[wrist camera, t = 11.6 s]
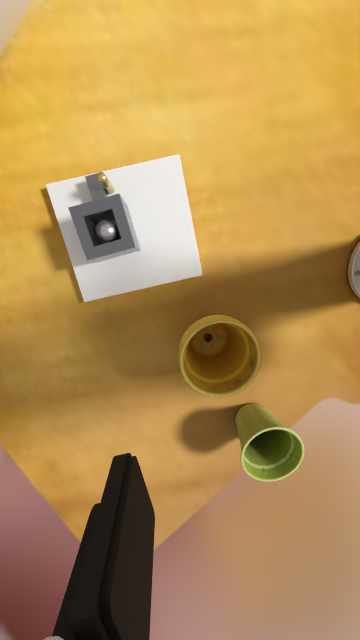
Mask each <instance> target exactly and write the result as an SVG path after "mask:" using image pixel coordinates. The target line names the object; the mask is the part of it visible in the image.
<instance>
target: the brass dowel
mask: <svg viewBox="0 0 360 640" xmlns="http://www.w3.org/2000/svg"><path fill="white" fill-rule="evenodd" d="M97 179H98V180H99V182H100V183H101V184H102V185H103V187H104V188H105V189H106V190H107V192H108V193H109V194H113V193H114V191H115V189H114V187H113V186H112V184H111V183H110V181H109V180H108V178H107V177H106V175H105V174H104V173H103V172H99V173H98V174H97Z"/></svg>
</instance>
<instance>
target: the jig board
mask: <svg viewBox="0 0 360 640" xmlns="http://www.w3.org/2000/svg"><path fill="white" fill-rule="evenodd" d="M98 173H99V172H98ZM103 173H104V174H105V175H106V177H107V178H108V180H109V181H110V183H111V184H112V186H113V187H114V189H115V191H114V193H113V194H109V193H108V192H107V193H108V196H112V195H115V194H120V195H121V197H122V198H123V200H124V201H125V203H126V204H127V206H128V209H129V213H130V216H131V219H132V223H133V226H134V230H135V233H136V236H137V240H138V243H139V246H140V251H137V252H133V253H129V254H126V255H122V256H119V257H115V258H111V259H108V260H104V261H87V259H86V256H85V254H84V251H83V248H82V245H81V242H80V240H79V237H78V234H77V231H76V228H75V225H74V223H73V220H72V217H71V214H70V211H69V209H68V207H72V206H76V205H79V204H83V203H86V202H90V201H93V200H92V197H91V194H90V191H89V188H88V185H87V182H86V179H85V176H89V175H85V176H81V177H76V178H72V179H68V180H63V181H59V182H54V183H50V184H46V187H47V190H48V193H49V196H50V200H51V203H52V206H53V209H54V212H55V215H56V218H57V221H58V224H59V227H60V230H61V233H62V236H63V239H64V242H65V245H66V248H67V251H68V254H69V257H70V260H71V263H72V266H73V269H74V272H75V275H76V278H77V281H78V285H79V288H80V291H81V294H82V297H83V300H84V302H87V301H92V300H96V299H100V298H105V297H109V296H113V295H118V294H122V293H126V292H131V291H135V290H140V289H144V288H148V287H153V286H157V285H161V284H166V283H170V282H174V281H179V280H183V279H188V278H192V277H196V276H201V275H203V274H202V269H201V264H200V259H199V254H198V249H197V243H196V238H195V233H194V228H193V223H192V218H191V213H190V207H189V202H188V197H187V192H186V187H185V182H184V176H183V171H182V166H181V161H180V156H179V154H178V155H173V156H169V157H164V158H160V159H156V160H151V161H147V162H142V163H138V164H134V165H129V166H125V167H120V168H116V169H112V170H107V171H103ZM94 174H96V173H94ZM90 175H93V174H90ZM110 222H111V223H112V224H113V225H115V226H116V227H117V228H118V226H117V223H116V220H114V221H110ZM102 240H103V239H102ZM103 243H104V244H105V243H109V242H108V241H106V240H103Z"/></svg>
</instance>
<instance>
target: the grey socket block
mask: <svg viewBox="0 0 360 640" xmlns="http://www.w3.org/2000/svg"><path fill="white" fill-rule="evenodd" d="M97 174H98V173H96V174H93V175H89V176H85V179H86V182H87V185H88V188H89V191H90V194H91V197H92V200H93V201H90V202H86V203H83V204H79V205H76V206H72V207H68V209H69V211H70V214H71V217H72V220H73V223H74V225H75V228H76V231H77V234H78V237H79V240H80V242H81V245H82V248H83V251H84V254H85V256H86V259H87V261H104V260H108V259H111V258H115V257H119V256H122V255H126V254H129V253H133V252H137V251H140V246H139V243H138V240H137V236H136V233H135V230H134V226H133V223H132V219H131V216H130V213H129V209H128V206H127V204H126V203H125V201H124V200H123V198H122V197H121V195H120V194H115V195H112V196H108V193H107V190H106V189H105V188H104V187H103V185H102V184H101V183H100V182H99V180H98V179H97ZM103 220H107V221H109V222H110V221H114V220H116V223H117V226H118V229H119V233H120V236H121V239H120V240H116V241H113V242H109V243H105V244H104V243H103V240H102V239H101V238H100V237H99V236H98V235H97V232H96V226H97V224H98V223H99V222H100V221H103Z"/></svg>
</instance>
